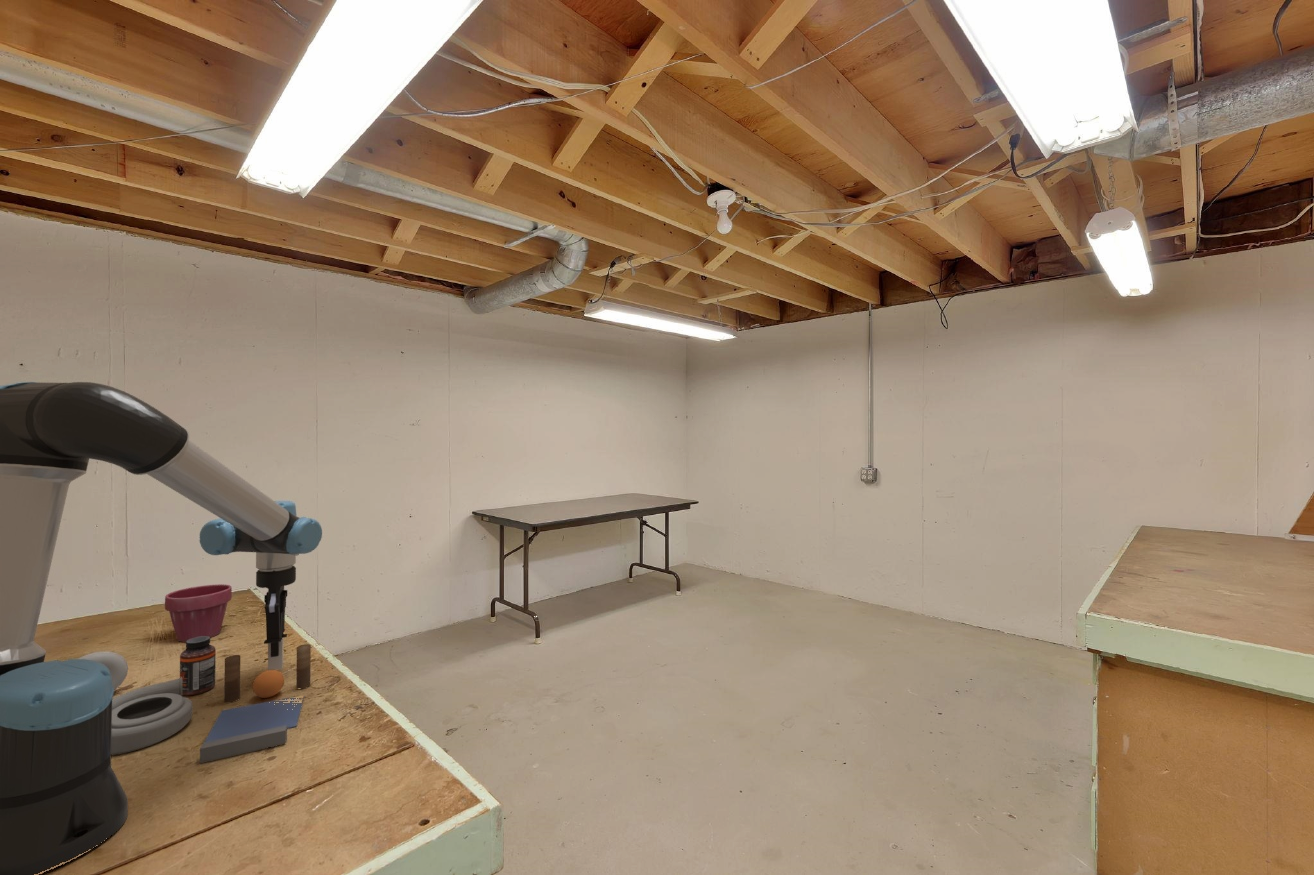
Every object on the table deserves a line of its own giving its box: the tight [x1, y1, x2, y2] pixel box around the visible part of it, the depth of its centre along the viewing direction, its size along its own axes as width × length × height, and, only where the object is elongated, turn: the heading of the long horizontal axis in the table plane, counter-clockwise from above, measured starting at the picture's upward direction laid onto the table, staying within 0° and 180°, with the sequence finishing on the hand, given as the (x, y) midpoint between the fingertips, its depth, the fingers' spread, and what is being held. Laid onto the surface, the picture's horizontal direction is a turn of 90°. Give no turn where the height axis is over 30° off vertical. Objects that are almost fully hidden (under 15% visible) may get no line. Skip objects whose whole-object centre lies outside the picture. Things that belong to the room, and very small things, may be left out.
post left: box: [223, 654, 241, 703], centre depth 111 cm, size 3×3×9 cm
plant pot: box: [164, 583, 233, 643], centre depth 147 cm, size 14×14×13 cm
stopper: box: [199, 725, 288, 764], centre depth 93 cm, size 2×12×2 cm, turn 119°
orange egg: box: [252, 669, 285, 699], centre depth 112 cm, size 6×6×6 cm
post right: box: [295, 643, 312, 689], centre depth 117 cm, size 3×3×9 cm
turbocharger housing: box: [111, 676, 193, 756], centre depth 99 cm, size 17×6×15 cm
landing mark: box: [203, 697, 305, 743], centre depth 103 cm, size 14×14×1 cm
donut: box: [78, 650, 129, 691], centre depth 111 cm, size 10×4×10 cm, turn 138°
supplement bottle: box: [179, 636, 217, 697], centre depth 115 cm, size 6×6×11 cm
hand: (275, 668), depth 122 cm, fingers closed
